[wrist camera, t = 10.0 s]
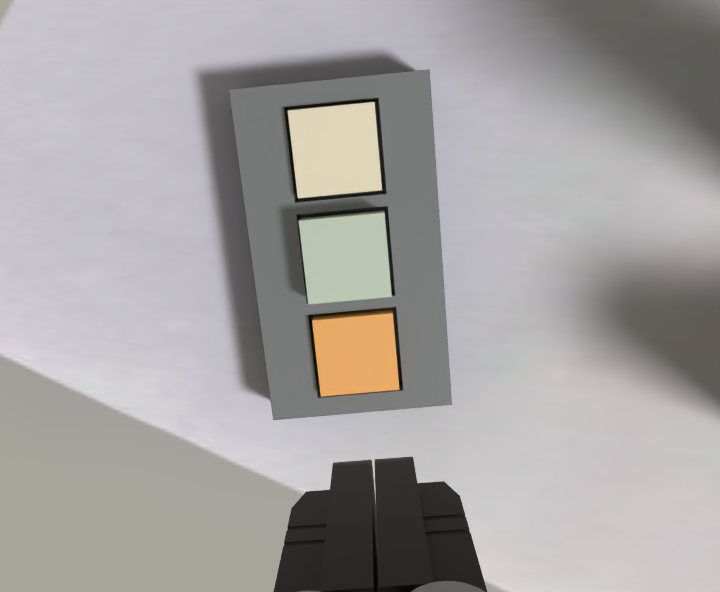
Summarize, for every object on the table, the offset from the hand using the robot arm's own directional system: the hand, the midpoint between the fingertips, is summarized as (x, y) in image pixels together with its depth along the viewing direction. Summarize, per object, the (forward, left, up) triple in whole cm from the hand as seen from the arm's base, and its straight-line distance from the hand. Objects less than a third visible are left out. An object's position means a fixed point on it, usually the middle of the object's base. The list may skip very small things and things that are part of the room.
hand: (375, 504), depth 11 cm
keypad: (+1, -1, -34) cm, 34 cm away
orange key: (+6, +3, -32) cm, 33 cm away
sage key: (+1, -1, -31) cm, 31 cm away
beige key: (-5, -5, -32) cm, 33 cm away
